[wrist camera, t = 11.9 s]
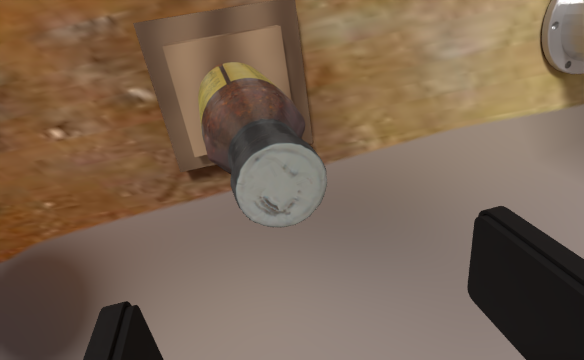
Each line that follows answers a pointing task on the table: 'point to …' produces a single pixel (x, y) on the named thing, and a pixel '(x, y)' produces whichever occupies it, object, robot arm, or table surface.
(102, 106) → the table surface
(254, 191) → the sauce bottle
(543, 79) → the table surface
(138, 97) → the table surface
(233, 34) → the pedestal
